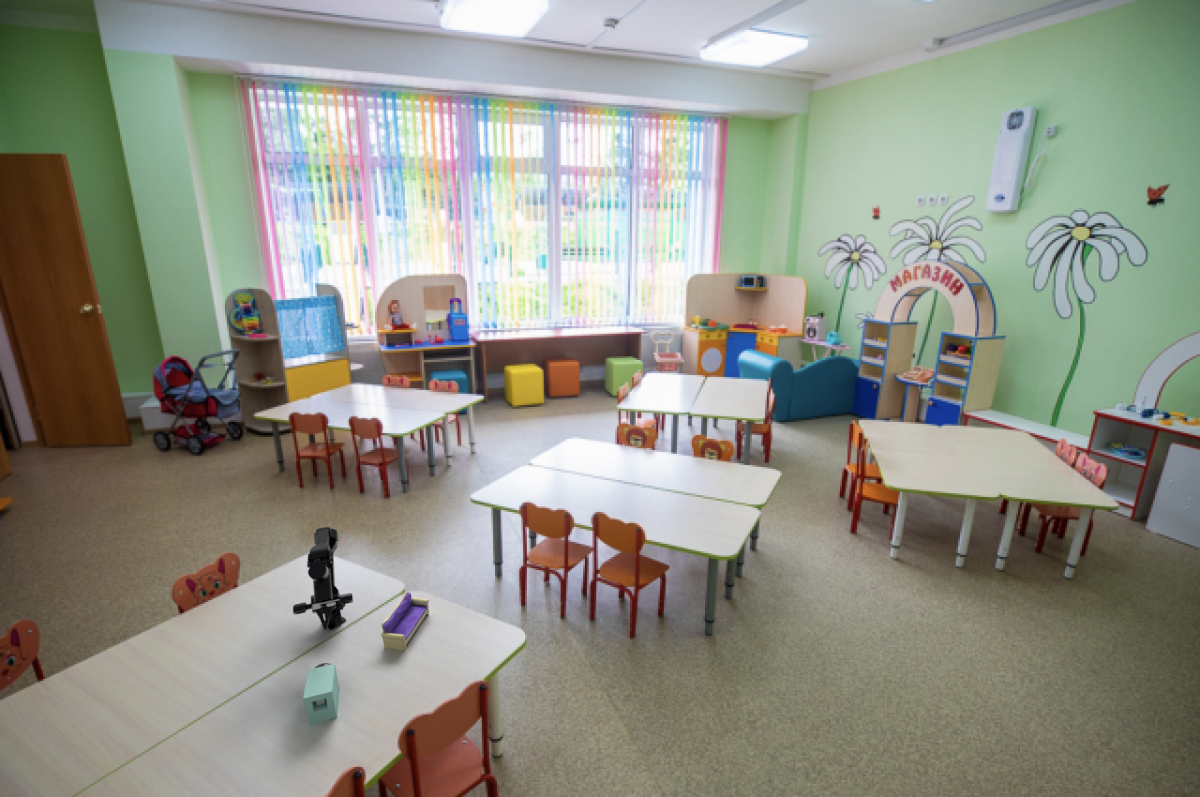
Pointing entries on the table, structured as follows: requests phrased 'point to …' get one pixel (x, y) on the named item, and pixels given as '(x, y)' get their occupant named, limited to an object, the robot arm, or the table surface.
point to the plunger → (325, 698)
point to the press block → (321, 694)
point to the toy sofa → (403, 621)
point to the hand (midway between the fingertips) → (325, 629)
